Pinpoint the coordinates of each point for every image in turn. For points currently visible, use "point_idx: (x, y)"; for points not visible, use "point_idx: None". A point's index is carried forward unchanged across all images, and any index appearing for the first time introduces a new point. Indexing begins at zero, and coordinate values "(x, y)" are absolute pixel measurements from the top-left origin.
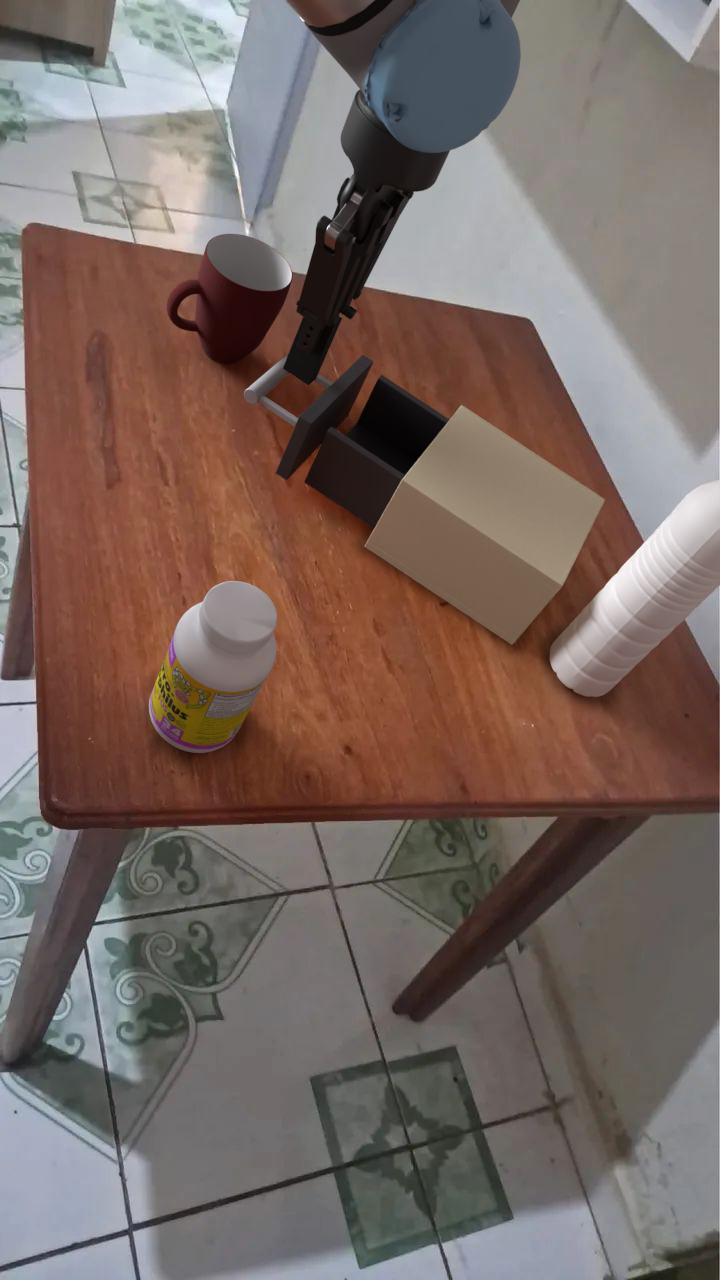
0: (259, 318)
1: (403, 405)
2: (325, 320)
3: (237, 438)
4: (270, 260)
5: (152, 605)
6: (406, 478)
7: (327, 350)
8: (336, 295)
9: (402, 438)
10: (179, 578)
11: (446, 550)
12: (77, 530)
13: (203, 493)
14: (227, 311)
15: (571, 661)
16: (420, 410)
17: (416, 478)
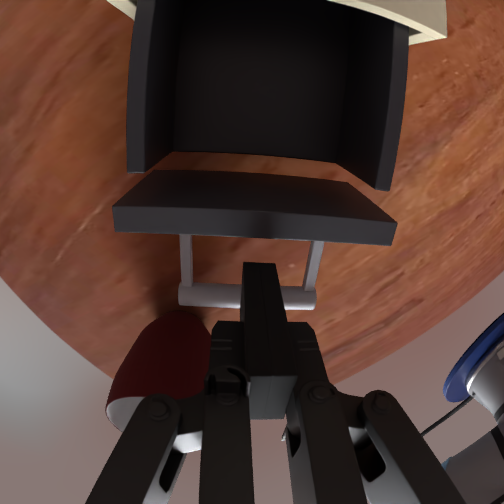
0: (198, 368)
1: (152, 94)
2: (388, 411)
3: (301, 256)
4: (112, 403)
5: (498, 220)
6: (439, 29)
7: (251, 306)
8: (410, 478)
9: (171, 71)
10: (479, 215)
11: None
12: (461, 290)
13: (398, 244)
14: None
15: None
16: (152, 56)
17: (426, 10)
